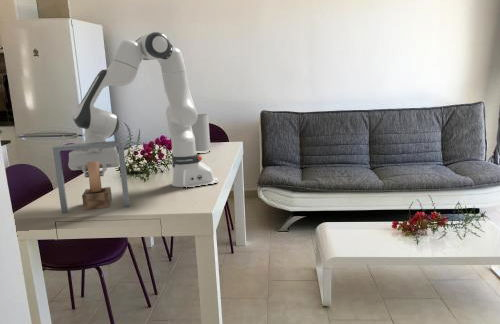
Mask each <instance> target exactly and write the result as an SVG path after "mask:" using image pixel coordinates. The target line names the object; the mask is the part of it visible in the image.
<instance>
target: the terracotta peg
mask: <svg viewBox="0 0 500 324" xmlns="http://www.w3.org/2000/svg"><path fill="white" fill-rule="evenodd" d="M87 166H88V169H87V172H88V175H89V177H88V183H89V189H90V192H99V191H102V188H103V187H102V178H101V176H100V171H101V170H100V169H101V168H99V162H98V161H92V162H88V163H87Z"/></svg>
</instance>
